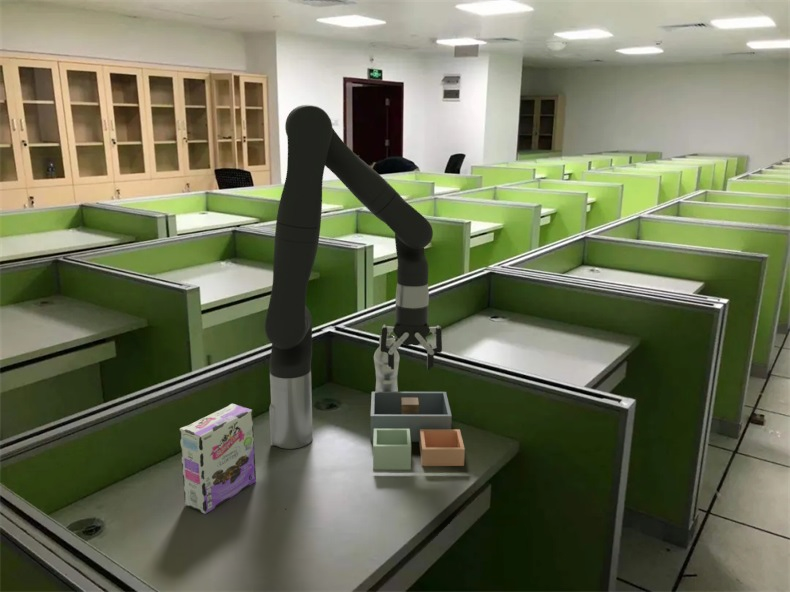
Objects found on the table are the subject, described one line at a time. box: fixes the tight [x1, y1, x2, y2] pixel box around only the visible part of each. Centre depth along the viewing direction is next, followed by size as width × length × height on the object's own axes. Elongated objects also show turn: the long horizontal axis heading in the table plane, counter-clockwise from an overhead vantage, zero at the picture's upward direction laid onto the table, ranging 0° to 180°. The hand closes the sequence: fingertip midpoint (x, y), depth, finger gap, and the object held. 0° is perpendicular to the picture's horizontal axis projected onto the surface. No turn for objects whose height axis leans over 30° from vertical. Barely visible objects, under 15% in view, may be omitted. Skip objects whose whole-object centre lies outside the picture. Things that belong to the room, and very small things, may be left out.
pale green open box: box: [372, 429, 412, 470], centre depth 136 cm, size 8×8×6 cm
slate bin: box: [370, 391, 453, 443], centre depth 150 cm, size 19×14×7 cm
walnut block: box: [401, 398, 419, 415], centre depth 150 cm, size 4×4×7 cm
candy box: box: [179, 403, 257, 515], centre depth 122 cm, size 14×6×16 cm, turn 148°
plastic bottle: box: [373, 334, 401, 392], centre depth 159 cm, size 6×7×20 cm
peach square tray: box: [419, 428, 466, 467], centre depth 138 cm, size 9×9×4 cm
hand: (410, 368), depth 147 cm, fingers open, 8 cm apart
